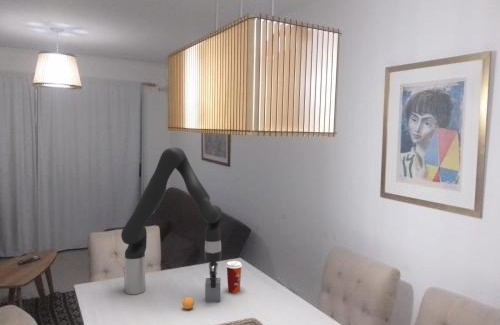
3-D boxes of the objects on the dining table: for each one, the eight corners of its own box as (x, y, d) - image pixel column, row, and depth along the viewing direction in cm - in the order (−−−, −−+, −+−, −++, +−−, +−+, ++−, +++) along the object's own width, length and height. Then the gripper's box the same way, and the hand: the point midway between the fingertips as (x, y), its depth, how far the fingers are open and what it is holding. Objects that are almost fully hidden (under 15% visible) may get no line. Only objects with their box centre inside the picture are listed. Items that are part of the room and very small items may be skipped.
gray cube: (205, 302, 179) (205, 283, 178) (206, 296, 185) (206, 277, 185) (220, 302, 179) (220, 283, 178) (220, 295, 186) (220, 277, 185)
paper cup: (239, 295, 187) (240, 266, 186) (224, 293, 188) (224, 265, 187) (243, 288, 194) (243, 260, 193) (228, 287, 196) (228, 259, 195)
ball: (179, 309, 172) (179, 298, 171) (188, 305, 176) (188, 294, 175) (188, 312, 169) (188, 301, 168) (196, 308, 173) (196, 297, 172)
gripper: (205, 245, 187) (206, 278, 188) (203, 254, 173) (204, 290, 174) (221, 245, 188) (221, 278, 189) (221, 254, 173) (221, 290, 175)
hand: (213, 284), depth 181 cm, fingers open, 8 cm apart
